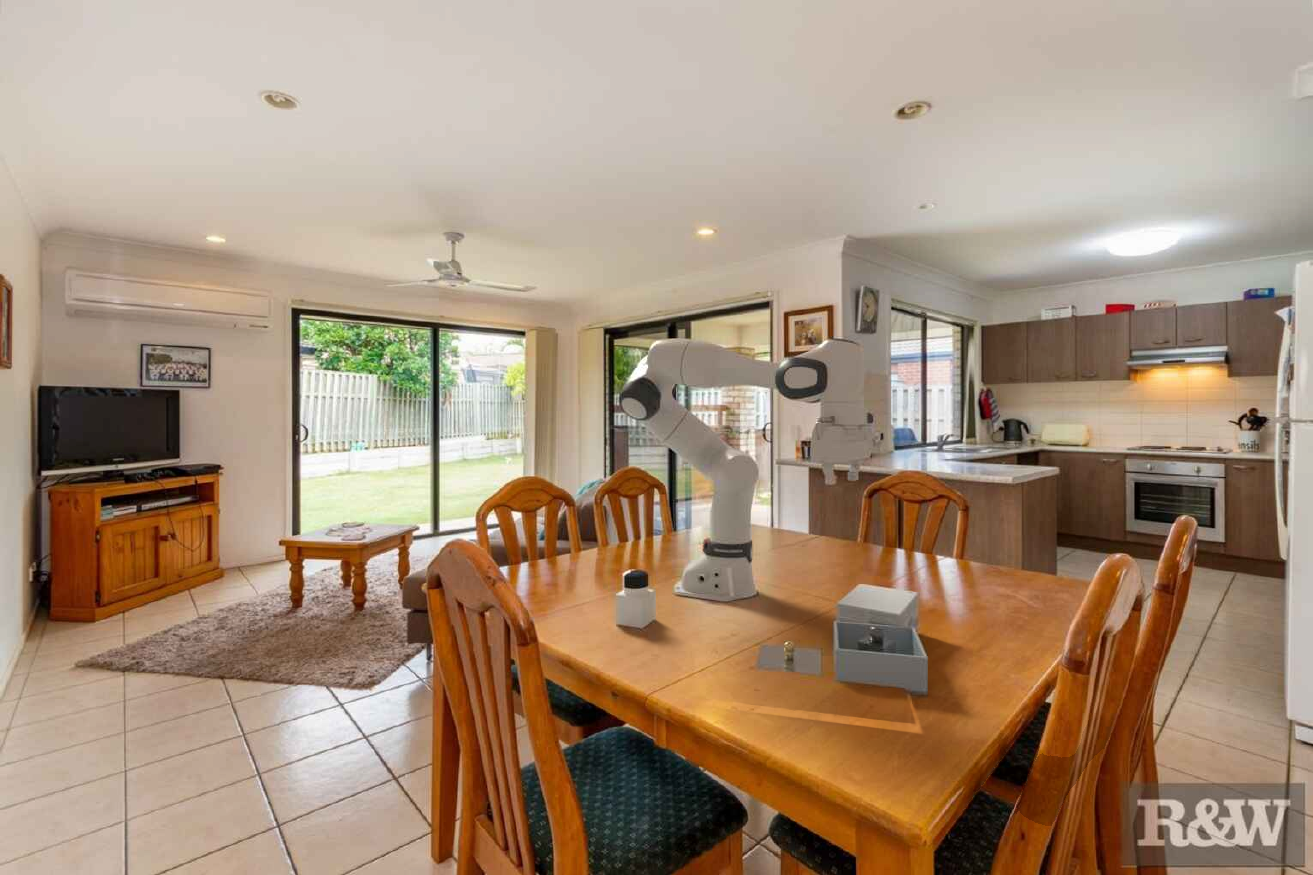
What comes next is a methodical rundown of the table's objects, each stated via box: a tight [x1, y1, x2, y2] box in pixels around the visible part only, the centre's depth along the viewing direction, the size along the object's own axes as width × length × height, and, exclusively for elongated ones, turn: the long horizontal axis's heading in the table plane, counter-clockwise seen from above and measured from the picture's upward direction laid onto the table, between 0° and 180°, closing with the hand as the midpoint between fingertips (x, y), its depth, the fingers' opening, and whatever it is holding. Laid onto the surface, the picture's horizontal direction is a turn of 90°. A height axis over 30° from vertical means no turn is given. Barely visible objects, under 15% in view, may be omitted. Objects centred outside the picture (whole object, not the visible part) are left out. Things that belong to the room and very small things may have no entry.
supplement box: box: [835, 583, 920, 635], centre depth 130 cm, size 17×13×9 cm
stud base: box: [754, 640, 822, 676], centre depth 117 cm, size 12×12×4 cm
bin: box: [833, 620, 929, 697], centre depth 113 cm, size 15×15×7 cm
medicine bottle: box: [614, 569, 656, 629], centre depth 141 cm, size 7×7×12 cm
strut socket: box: [858, 625, 895, 654], centre depth 113 cm, size 5×5×8 cm
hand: (842, 482), depth 127 cm, fingers open, 8 cm apart
